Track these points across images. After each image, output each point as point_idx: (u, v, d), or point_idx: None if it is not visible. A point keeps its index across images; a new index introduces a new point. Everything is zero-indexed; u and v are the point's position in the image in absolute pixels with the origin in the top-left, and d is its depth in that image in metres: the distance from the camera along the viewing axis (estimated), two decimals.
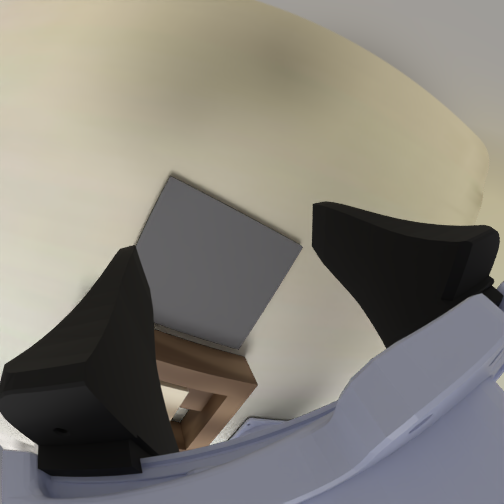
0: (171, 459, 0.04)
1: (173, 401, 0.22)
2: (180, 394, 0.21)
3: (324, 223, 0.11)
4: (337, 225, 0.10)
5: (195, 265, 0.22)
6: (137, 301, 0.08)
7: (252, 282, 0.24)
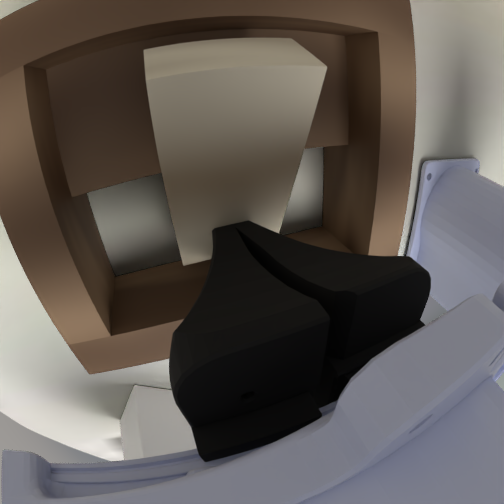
0: (171, 459, 0.04)
1: (287, 119, 0.07)
2: (302, 82, 0.06)
3: None
4: None
5: None
6: None
7: None
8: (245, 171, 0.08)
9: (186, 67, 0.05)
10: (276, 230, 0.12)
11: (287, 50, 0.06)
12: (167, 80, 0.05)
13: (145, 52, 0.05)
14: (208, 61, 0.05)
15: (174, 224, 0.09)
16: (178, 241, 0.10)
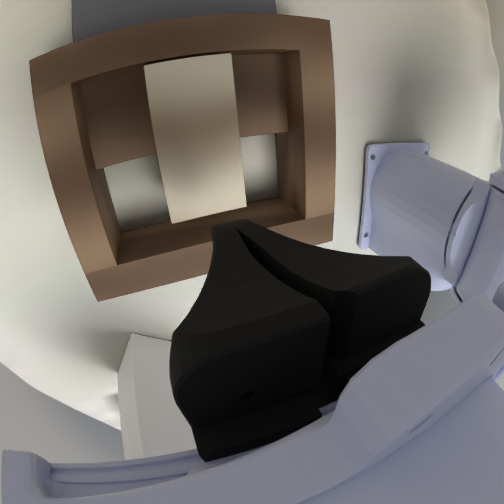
0: (171, 459, 0.04)
1: (218, 85, 0.12)
2: (220, 63, 0.11)
3: None
4: None
5: None
6: None
7: None
8: (202, 123, 0.12)
9: None
10: (242, 188, 0.15)
11: None
12: (153, 66, 0.10)
13: None
14: (172, 61, 0.11)
15: (160, 168, 0.13)
16: (165, 188, 0.13)
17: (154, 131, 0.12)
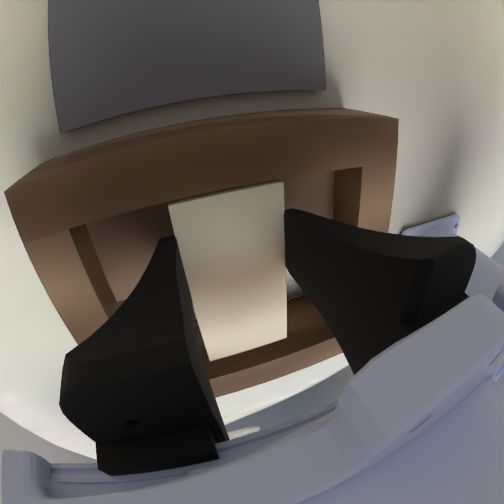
0: None
1: (265, 227, 0.11)
2: (269, 198, 0.10)
3: (288, 232, 0.11)
4: (299, 234, 0.10)
5: None
6: (185, 289, 0.09)
7: None
8: (245, 272, 0.11)
9: (192, 197, 0.09)
10: (283, 324, 0.14)
11: None
12: (181, 206, 0.09)
13: None
14: None
15: (198, 319, 0.12)
16: (203, 335, 0.12)
17: (188, 285, 0.11)
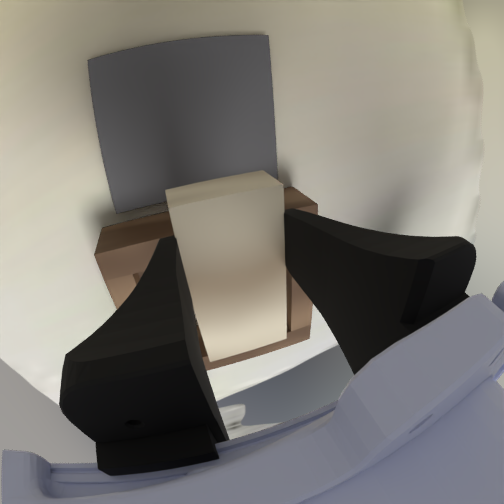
0: None
1: (265, 228, 0.11)
2: (269, 200, 0.10)
3: (288, 232, 0.11)
4: (299, 234, 0.10)
5: (166, 114, 0.17)
6: (185, 289, 0.09)
7: (239, 95, 0.17)
8: (245, 273, 0.11)
9: (192, 199, 0.10)
10: (283, 325, 0.14)
11: (258, 179, 0.11)
12: (181, 208, 0.09)
13: (166, 191, 0.10)
14: (206, 194, 0.10)
15: (198, 320, 0.12)
16: (203, 336, 0.12)
17: (189, 286, 0.11)
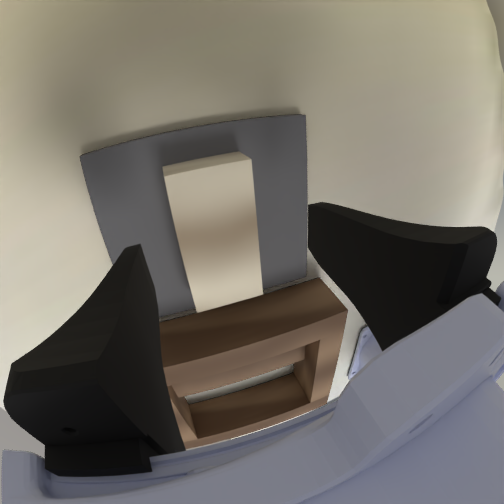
0: (171, 459, 0.04)
1: (239, 194, 0.14)
2: (240, 171, 0.13)
3: (319, 224, 0.11)
4: (332, 226, 0.10)
5: None
6: (144, 300, 0.08)
7: (270, 195, 0.16)
8: (223, 231, 0.14)
9: (182, 170, 0.12)
10: (259, 281, 0.17)
11: (233, 156, 0.14)
12: (174, 176, 0.12)
13: (163, 167, 0.13)
14: (192, 167, 0.13)
15: (186, 271, 0.15)
16: (190, 287, 0.15)
17: (179, 240, 0.14)
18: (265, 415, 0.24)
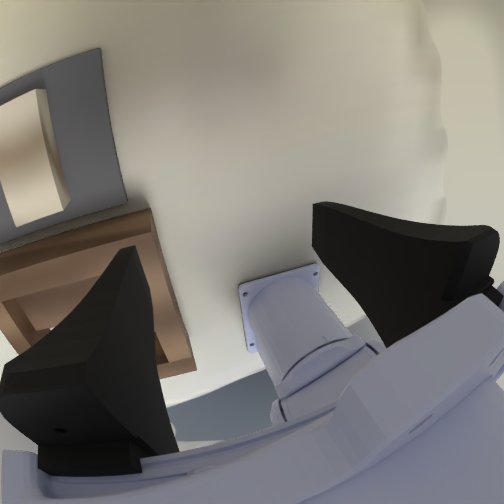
0: (171, 459, 0.04)
1: (28, 117, 0.11)
2: (28, 99, 0.11)
3: (324, 223, 0.11)
4: (337, 225, 0.10)
5: None
6: (138, 301, 0.08)
7: (73, 121, 0.14)
8: (21, 149, 0.12)
9: None
10: (56, 196, 0.14)
11: None
12: None
13: None
14: (4, 105, 0.11)
15: (2, 186, 0.13)
16: (7, 201, 0.13)
17: None
18: None
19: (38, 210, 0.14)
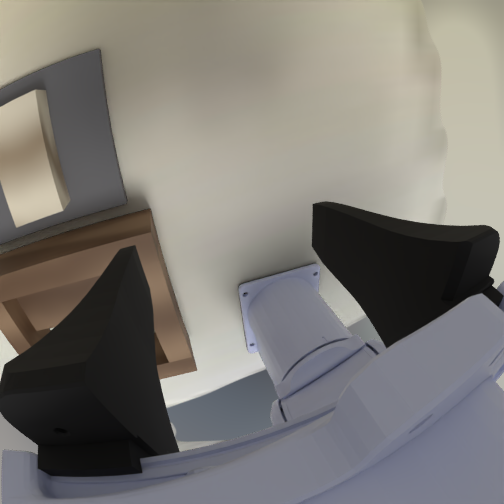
0: (171, 459, 0.04)
1: (28, 118, 0.12)
2: (28, 100, 0.11)
3: (324, 223, 0.11)
4: (337, 225, 0.10)
5: None
6: (137, 301, 0.08)
7: (73, 121, 0.14)
8: (21, 149, 0.12)
9: None
10: (56, 196, 0.15)
11: None
12: None
13: None
14: (4, 105, 0.11)
15: (2, 187, 0.13)
16: (7, 201, 0.13)
17: None
18: None
19: (38, 210, 0.14)
